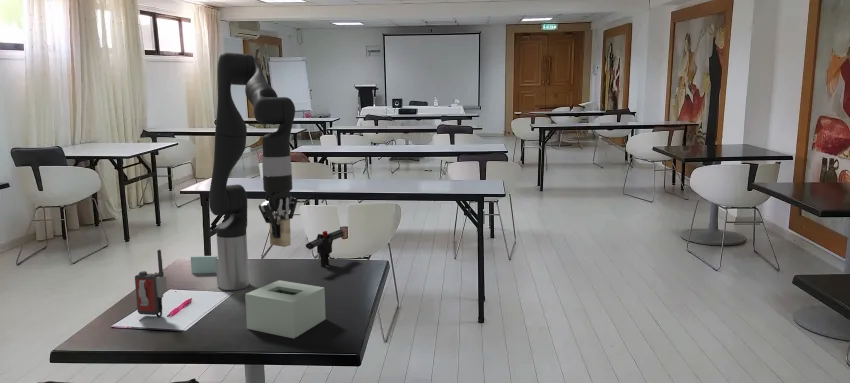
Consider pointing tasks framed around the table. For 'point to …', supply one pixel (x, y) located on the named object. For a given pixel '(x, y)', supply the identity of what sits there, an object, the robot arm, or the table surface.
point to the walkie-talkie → (150, 290)
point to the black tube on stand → (324, 245)
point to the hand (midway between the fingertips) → (280, 236)
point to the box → (285, 308)
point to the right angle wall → (203, 264)
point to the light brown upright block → (281, 234)
